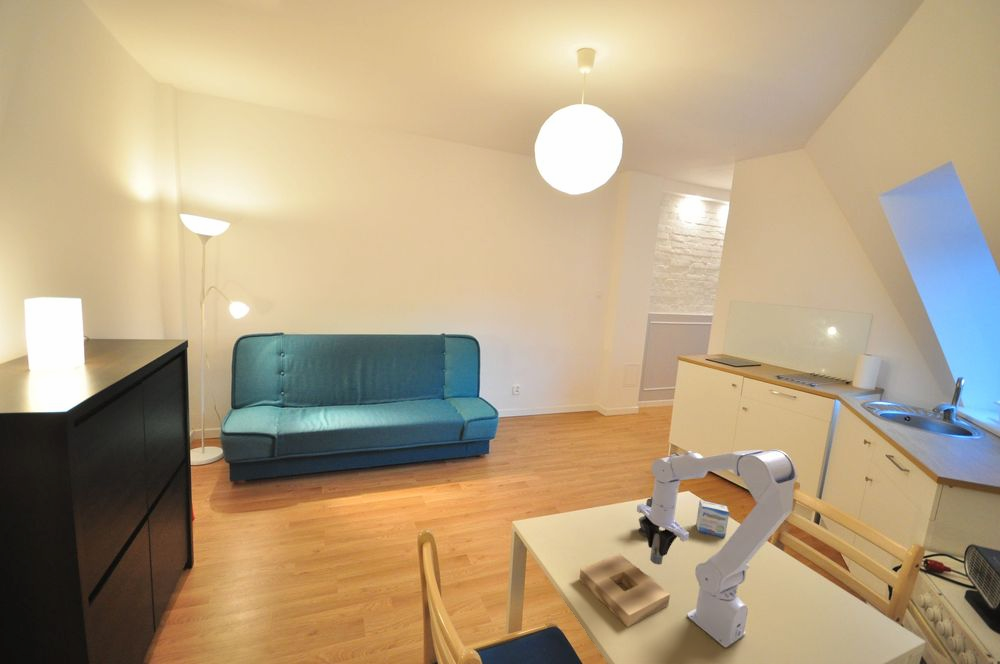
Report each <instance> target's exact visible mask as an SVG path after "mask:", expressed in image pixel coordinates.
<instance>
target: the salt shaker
mask: <svg viewBox="0 0 1000 664" xmlns="http://www.w3.org/2000/svg"><path fill="white" fill-rule="evenodd" d="M652 499H653V496H651V498H650V497H649V498H648V499H646V503H645V505H646V506H649V507H651V506H652ZM645 518H646V515H644V514H643V516H640V517H639V518H638V522H639V526H640V527H639V528H638V529H637V530H638V533H639V535H641V536H642V537H644V538H647V534H646V531H645V528H644V525H643V524H642V521H643V520H644V519H645Z"/></svg>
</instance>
